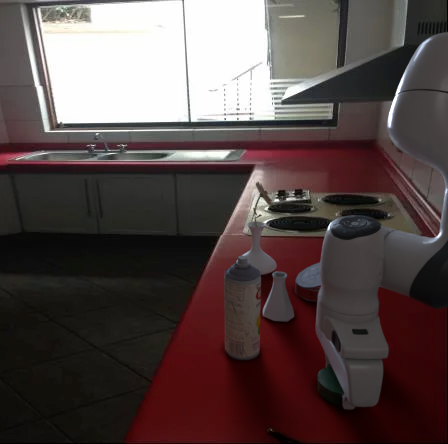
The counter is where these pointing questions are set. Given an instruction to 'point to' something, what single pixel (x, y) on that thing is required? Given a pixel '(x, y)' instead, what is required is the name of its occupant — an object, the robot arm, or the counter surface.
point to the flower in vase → (256, 254)
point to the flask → (278, 300)
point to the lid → (329, 386)
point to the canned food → (309, 283)
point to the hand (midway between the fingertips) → (339, 389)
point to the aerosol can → (242, 310)
